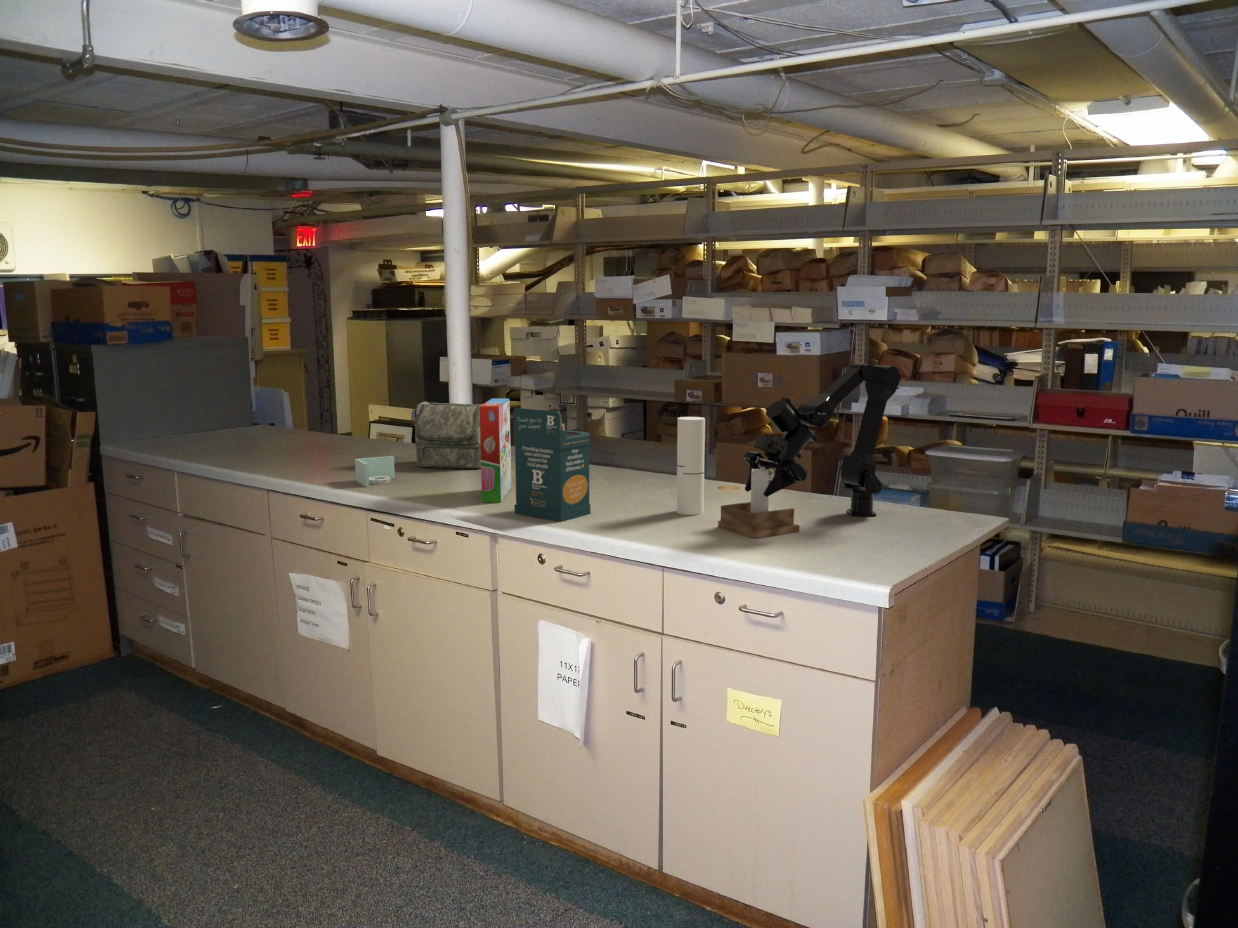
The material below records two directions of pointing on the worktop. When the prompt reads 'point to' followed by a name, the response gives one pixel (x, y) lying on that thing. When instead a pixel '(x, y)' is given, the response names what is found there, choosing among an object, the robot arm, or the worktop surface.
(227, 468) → the worktop surface
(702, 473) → the cylindrical container
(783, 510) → the box
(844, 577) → the worktop surface
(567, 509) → the donation box
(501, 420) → the game box
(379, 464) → the l-shaped corner panel
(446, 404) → the lunch bag
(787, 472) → the robot arm
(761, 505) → the skincare box
